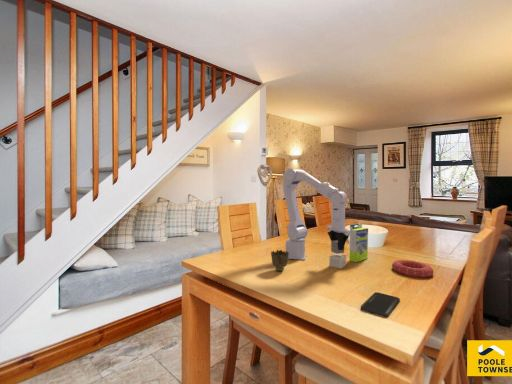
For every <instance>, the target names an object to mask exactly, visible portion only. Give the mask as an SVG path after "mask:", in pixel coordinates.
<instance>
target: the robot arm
mask: <svg viewBox="0 0 512 384" xmlns="http://www.w3.org/2000/svg"><path fill="white" fill-rule="evenodd" d="M301 182H305V183H306V184H308V185H310V186H312V187H314V188H315V189H317V193H318V194H320V195H321V196H323V197H325V198H326V199H328V200H329V202H330V203H331V225H326V230H327V235H328V236H329V239H330V241H331V240H338V249H339V250H343V249H344V250H345V245H346V242H347V241H348V238H350V233H351V231H350V229H347V228H346V202H347V201H348V195H347V193H346V192H345V191H343V190H339V188H338V187H337V188H336V187H334V186H333V185H331V183H330V182H326V181H325V182H321V181H319V179H317V178H315V177H314V176H312V175H311V174H309V173H308V172H307V171H304V170H303V169H301V168H298V169H297V168H287V169H286V170H285V171H284V173H283V185H282V190H283V193H284V199H285V204H286V209H287V215H288V217H289V218H288V219H289V223H288V224H287V237H288V239H285V252H286V251H287V252H289V254H288V260H289V259H290V260H301V261H305V260H306V258H307V254H306V246H305V245H306V237H307V236H308V233H309V231H308V229H307V227H306V225H305V222H304V221H303V220H302V219H301V214H300V209H299V205H298V204H299V203H298V199H297V196H296V191H295V189H296V187H297V185H299V184H301Z"/></svg>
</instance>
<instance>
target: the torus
mask: <svg viewBox="0 0 512 384" xmlns="http://www.w3.org/2000/svg"><path fill="white" fill-rule="evenodd" d="M391 268H392V270H394V271H395V272H397V273H398V274H400V273H401V275H403V274H404V275H403V276H408V277H412V278H423V279H424V278H431V277H432V276H433V275H434V269H433V268H432V266H430V265H428V264H426V263H423V262H419V261H415V260H408V259H398V260H395V261H393V262H392V263H391Z"/></svg>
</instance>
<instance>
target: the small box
mask: <svg viewBox="0 0 512 384" xmlns="http://www.w3.org/2000/svg"><path fill="white" fill-rule="evenodd" d="M328 257H329V258H328V259H329V267H330V268H331V267H332V268H335V269H343V268H344V267H346V266H347V256H346V255H345V254H341V253H338V254H336V253H333V254H331V255H329V256H328Z"/></svg>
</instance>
